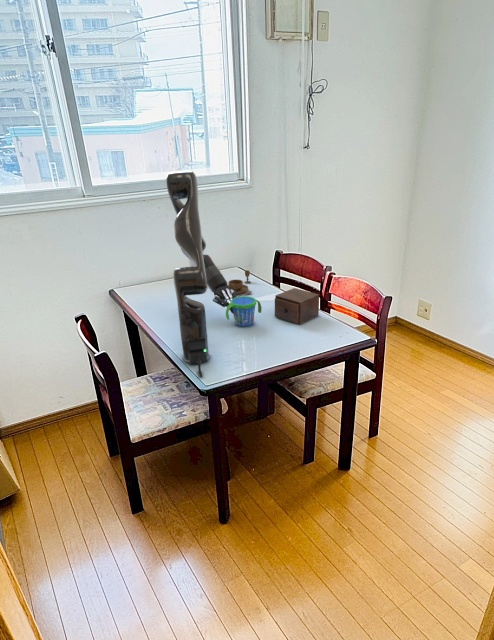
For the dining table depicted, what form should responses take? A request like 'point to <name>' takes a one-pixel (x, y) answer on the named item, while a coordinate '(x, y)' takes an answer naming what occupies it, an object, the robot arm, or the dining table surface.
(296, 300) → the cabinet
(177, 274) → the robot arm
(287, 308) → the drawer
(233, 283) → the place setting
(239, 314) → the snack cup
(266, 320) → the dining table surface
